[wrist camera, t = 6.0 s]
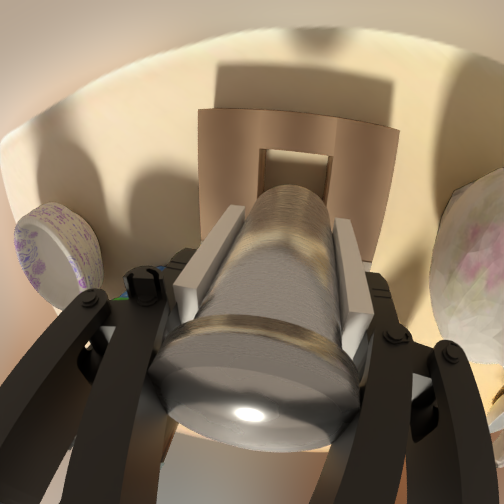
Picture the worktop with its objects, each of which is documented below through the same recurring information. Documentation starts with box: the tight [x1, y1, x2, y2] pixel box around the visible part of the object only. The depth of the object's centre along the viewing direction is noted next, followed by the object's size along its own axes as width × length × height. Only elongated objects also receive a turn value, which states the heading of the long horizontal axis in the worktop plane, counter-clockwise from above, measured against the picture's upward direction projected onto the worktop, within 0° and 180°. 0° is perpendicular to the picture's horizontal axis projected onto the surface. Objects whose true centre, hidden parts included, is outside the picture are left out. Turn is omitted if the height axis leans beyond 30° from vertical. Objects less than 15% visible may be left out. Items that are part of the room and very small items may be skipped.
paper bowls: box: [14, 202, 104, 311], centre depth 32 cm, size 15×15×8 cm
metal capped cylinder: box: [147, 185, 360, 452], centre depth 10 cm, size 5×5×11 cm
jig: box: [198, 108, 400, 272], centre depth 24 cm, size 16×14×4 cm
